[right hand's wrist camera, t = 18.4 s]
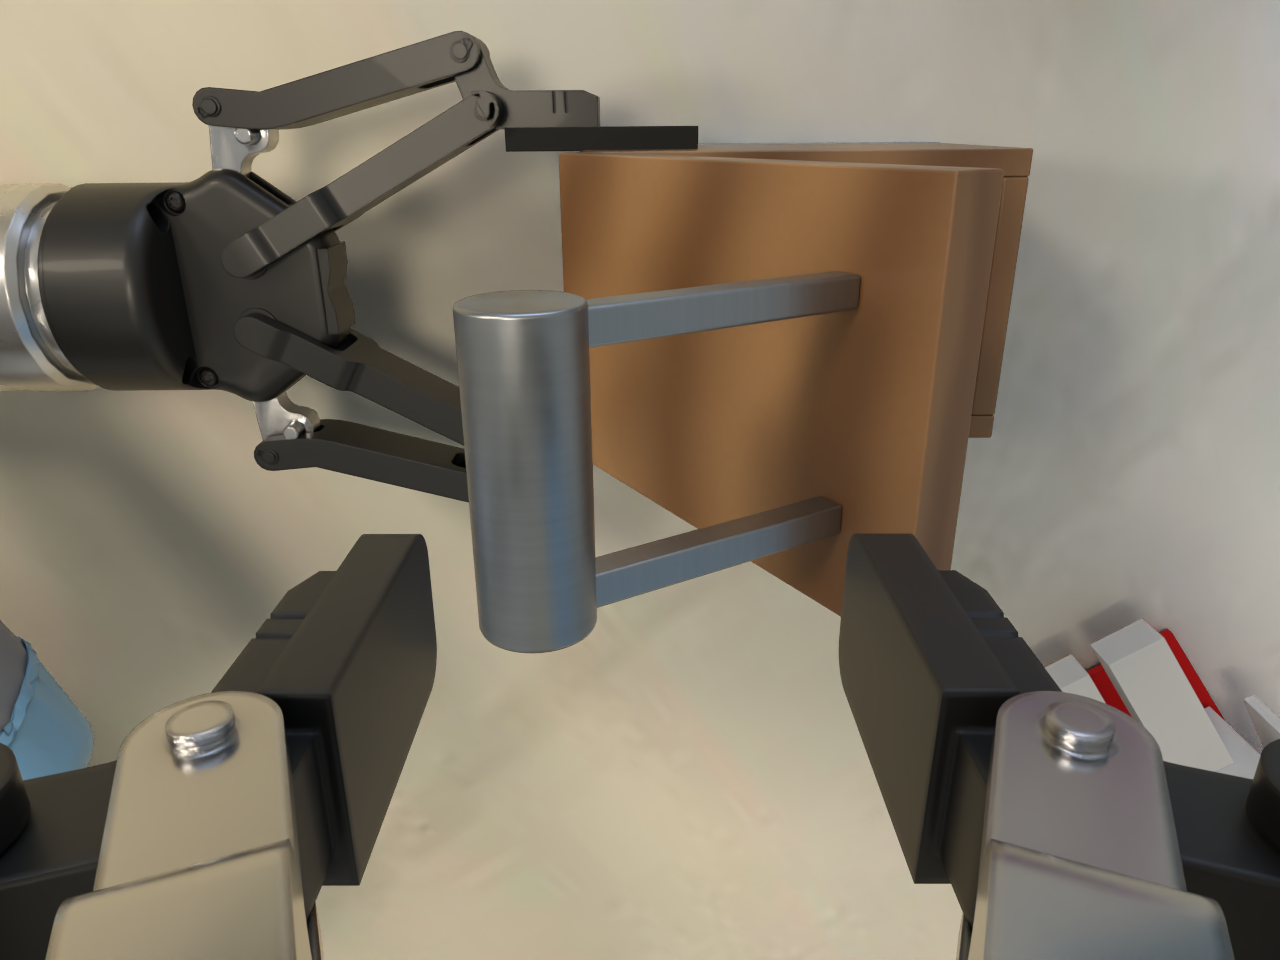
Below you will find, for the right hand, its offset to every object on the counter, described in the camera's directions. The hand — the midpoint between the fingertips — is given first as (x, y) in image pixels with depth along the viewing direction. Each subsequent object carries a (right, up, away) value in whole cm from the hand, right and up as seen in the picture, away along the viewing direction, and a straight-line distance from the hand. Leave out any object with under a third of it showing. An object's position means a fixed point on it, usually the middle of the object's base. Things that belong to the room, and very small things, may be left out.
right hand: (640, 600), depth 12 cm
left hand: (+2, +9, +22) cm, 23 cm away
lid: (+2, +5, +12) cm, 13 cm away
